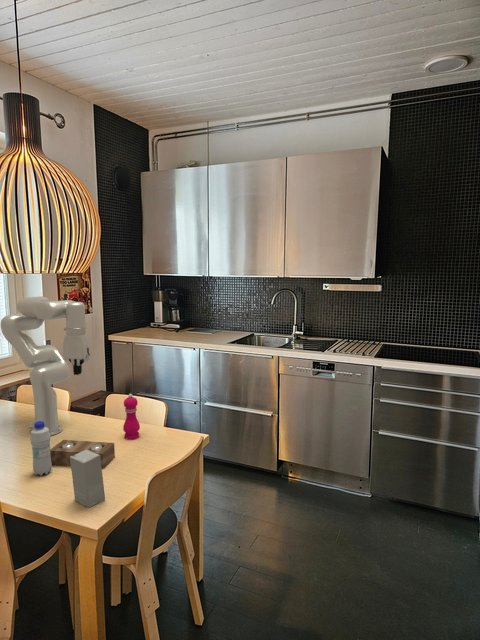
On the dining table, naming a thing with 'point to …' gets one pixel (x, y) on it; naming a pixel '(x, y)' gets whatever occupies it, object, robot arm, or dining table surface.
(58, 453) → the socket block
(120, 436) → the dining table surface
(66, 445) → the peg
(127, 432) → the pepper mill
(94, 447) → the peg
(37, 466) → the bottle
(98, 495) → the skincare box
